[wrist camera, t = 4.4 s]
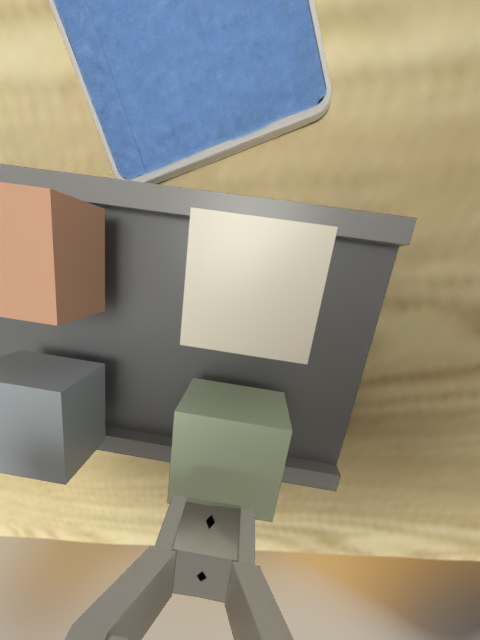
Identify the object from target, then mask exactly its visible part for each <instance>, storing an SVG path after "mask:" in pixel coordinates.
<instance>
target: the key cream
mask: <svg viewBox="0 0 480 640" xmlns="http://www.w3.org/2000/svg"><path fill="white" fill-rule="evenodd" d="M337 229H338V227H335V226H328V225H320V224H313V223H305V222H298V221H290V220H283V219H275V218H268V217H260V216H253V215H245V214H238V213H230V212H223V211H215V210H208V209H200V208H192V207H191V209H190V222H189V235H188V247H187V260H186V272H185V285H184V298H183V310H182V323H181V336H180V345H185V346H191V347H198V348H204V349H210V350H217V351H223V352H230V353H236V354H243V355H249V356H255V357H262V358H268V359H275V360H281V361H288V362H294V363H300V364H308V359H309V355H310V350H311V346H312V341H313V337H314V332H315V328H316V323H317V319H318V314H319V310H320V305H321V301H322V296H323V292H324V287H325V283H326V278H327V274H328V269H329V265H330V260H331V256H332V251H333V247H334V242H335V238H336V233H337Z"/></svg>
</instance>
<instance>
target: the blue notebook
mask: <svg viewBox="0 0 480 640" xmlns="http://www.w3.org/2000/svg"><path fill="white" fill-rule="evenodd" d="M48 1H49V4H50V7H51V9H52V12H53V14H54V17H55V20H56V22H57V25H58V27H59V30H60V33H61V35H62V38H63V41H64V43H65V46H66V49H67V51H68V54H69V57H70V59H71V62H72V64H73V67H74V70H75V72H76V75H77V78H78V80H79V83H80V86H81V88H82V91H83V93H84V96H85V98H86V101H87V103H88V106H89V108H90V111H91V114H92V116H93V119H94V122H95V124H96V127H97V130H98V132H99V135H100V137H101V140H102V143H103V145H104V148H105V150H106V153H107V156H108V158H109V161H110V164H111V166H112V169H113V172H114V175H115V176H116V178H117V179H121V180H128V181H136V182H144V183H151V184H157V183H160V182H163V181H166V180H168V179H171V178H174V177H176V176H179V175H181V174H184V173H187V172H189V171H192V170H194V169H197V168H200V167H202V166H205V165H208V164H210V163H213V162H215V161H218V160H221V159H223V158H226V157H228V156H231V155H233V154H236V153H238V152H241V151H243V150H246V149H248V148H251V147H253V146H256V145H258V144H261V143H263V142H266V141H268V140H271V139H273V138H276V137H278V136H281V135H283V134H286V133H288V132H290V131H293V130H295V129H298V128H300V127H302V126H305V125H307V124H310V123H312V122H314V121H316V120H318V119H319V118H321V117H322V116H323V115H324V114H325V113H326V111H327V110H328V108H329V105H330V101H331V93H332V87H331V82H330V77H329V72H328V67H327V62H326V57H325V52H324V47H323V42H322V37H321V32H320V27H319V21H318V16H317V11H316V6H315V1H314V0H48Z"/></svg>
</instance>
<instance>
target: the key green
mask: <svg viewBox="0 0 480 640" xmlns="http://www.w3.org/2000/svg"><path fill="white" fill-rule="evenodd" d="M291 436H292V426H291V422H290V417H289V412H288V408H287V403H286V398H285V394H284V392H278V391H272V390H266V389H260V388H253V387H247V386H241V385H235V384H228V383H222V382H216V381H210V380H204V379H197V378H193V379H192V381H191V383H190V385H189V386H188V388H187V390H186V392H185V394H184V395H183V397H182V399H181V401H180V402H179V404H178V406H177V408H176V410H175V411H174V424H173V437H172V449H171V462H170V475H169V487H168V500H167V503H169V504H170V502H171V500H172V498H173V496H174V495H179V496H185V497H190V498H195V499H199V500H204V501H209V502H219V503H225V504H231V505H238V506H240V507H247V508H253V509H254V511H255V519H257V520H263V521H268V522H272V521H273V516H274V512H275V507H276V503H277V498H278V494H279V489H280V485H281V480H282V476H283V471H284V467H285V462H286V458H287V453H288V449H289V445H290V440H291Z"/></svg>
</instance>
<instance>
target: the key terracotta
mask: <svg viewBox="0 0 480 640" xmlns="http://www.w3.org/2000/svg"><path fill="white" fill-rule="evenodd" d="M104 311H105V209H104V208H101V207H98V206H96V205H93V204H90V203H88V202H85V201H82V200H80V199H77V198H74V197H71V196H69V195H66V194H63V193H61V192H58V191H55V190H53V189H50V188H42V187H35V186H27V185H20V184H12V183H5V182H0V317H4V318H11V319H17V320H24V321H30V322H37V323H43V324H50V325H56V326H58V325H61V324H65V323H68V322H71V321H75V320H78V319H81V318H84V317H88V316H91V315H94V314H98V313H101V312H104Z"/></svg>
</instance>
